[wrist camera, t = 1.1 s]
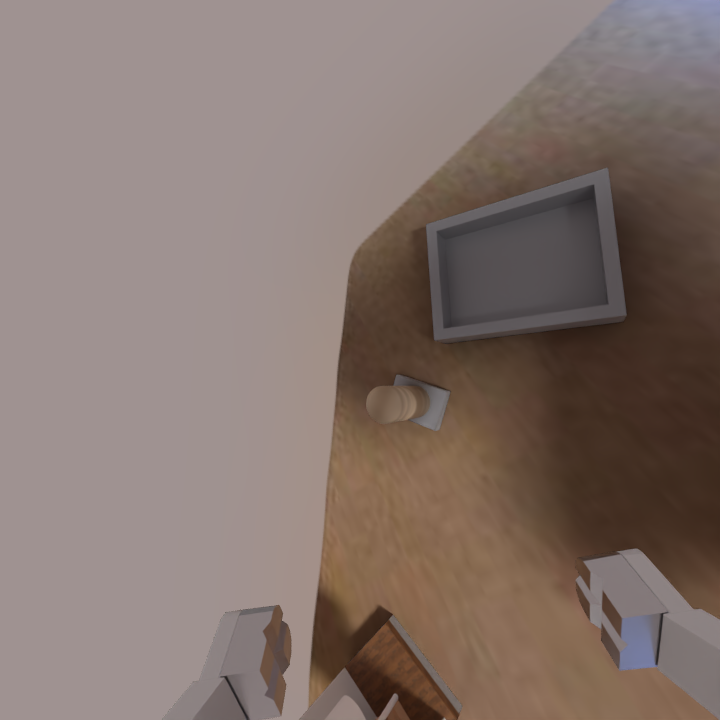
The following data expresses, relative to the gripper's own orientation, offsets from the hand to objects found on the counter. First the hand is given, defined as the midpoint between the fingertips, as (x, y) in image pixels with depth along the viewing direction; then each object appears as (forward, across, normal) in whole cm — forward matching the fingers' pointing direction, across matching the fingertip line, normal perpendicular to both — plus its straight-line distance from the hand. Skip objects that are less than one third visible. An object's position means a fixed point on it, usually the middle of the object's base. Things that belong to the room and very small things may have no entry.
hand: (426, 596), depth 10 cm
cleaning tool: (+35, -4, +12) cm, 37 cm away
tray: (+35, -17, -1) cm, 39 cm away
